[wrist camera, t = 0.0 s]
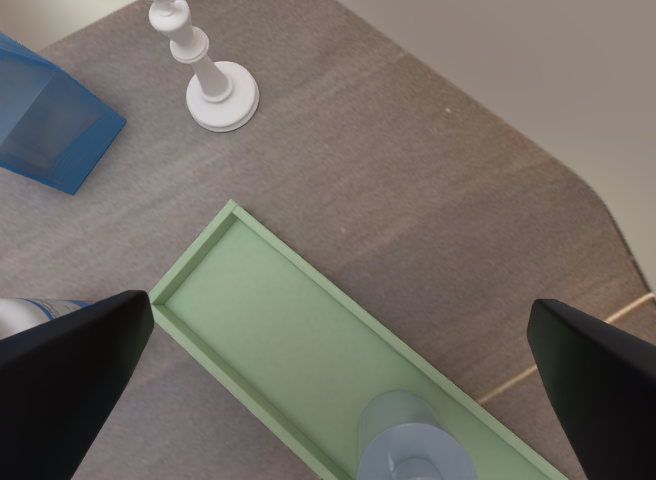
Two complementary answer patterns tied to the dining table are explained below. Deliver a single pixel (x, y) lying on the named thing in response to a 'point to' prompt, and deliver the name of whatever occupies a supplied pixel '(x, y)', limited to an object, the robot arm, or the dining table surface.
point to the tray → (310, 352)
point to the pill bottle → (32, 313)
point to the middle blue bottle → (408, 442)
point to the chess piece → (206, 71)
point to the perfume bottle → (49, 120)
